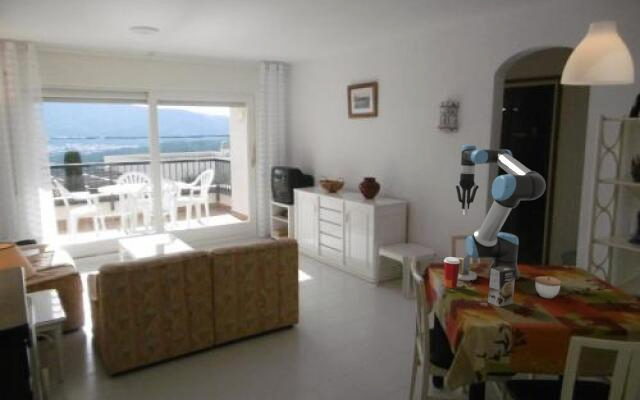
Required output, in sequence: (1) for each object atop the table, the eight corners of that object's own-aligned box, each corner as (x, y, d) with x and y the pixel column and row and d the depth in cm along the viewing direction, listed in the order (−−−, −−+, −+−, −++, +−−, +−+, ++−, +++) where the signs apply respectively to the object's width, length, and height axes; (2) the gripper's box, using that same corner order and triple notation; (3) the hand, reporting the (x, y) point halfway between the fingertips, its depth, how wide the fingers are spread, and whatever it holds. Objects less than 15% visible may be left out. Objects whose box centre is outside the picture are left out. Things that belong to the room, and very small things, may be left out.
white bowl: (536, 290, 219) (538, 271, 218) (561, 295, 213) (563, 276, 212) (531, 296, 210) (533, 277, 209) (557, 301, 204) (559, 282, 203)
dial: (461, 268, 245) (462, 252, 244) (472, 270, 242) (473, 254, 240) (453, 275, 234) (454, 258, 232) (464, 277, 230) (465, 260, 229)
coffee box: (499, 307, 197) (501, 271, 195) (487, 302, 203) (490, 267, 200) (513, 303, 201) (516, 269, 199) (501, 298, 207) (504, 265, 204)
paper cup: (457, 284, 226) (458, 257, 224) (460, 289, 219) (462, 261, 216) (441, 283, 227) (442, 256, 225) (443, 288, 219) (445, 260, 217)
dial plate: (480, 276, 239) (481, 272, 239) (470, 282, 228) (470, 279, 228) (455, 270, 248) (456, 267, 248) (444, 276, 237) (444, 273, 237)
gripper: (476, 172, 255) (474, 213, 258) (453, 172, 255) (451, 213, 258) (481, 173, 247) (478, 216, 251) (457, 173, 247) (455, 215, 251)
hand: (465, 214), depth 254 cm, fingers closed
